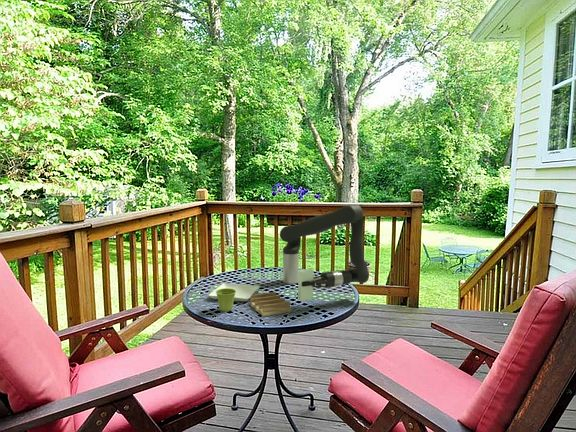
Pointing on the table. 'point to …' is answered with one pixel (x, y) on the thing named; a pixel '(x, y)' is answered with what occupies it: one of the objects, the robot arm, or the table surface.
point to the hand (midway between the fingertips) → (300, 283)
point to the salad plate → (237, 291)
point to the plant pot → (225, 298)
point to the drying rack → (269, 304)
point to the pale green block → (305, 291)
